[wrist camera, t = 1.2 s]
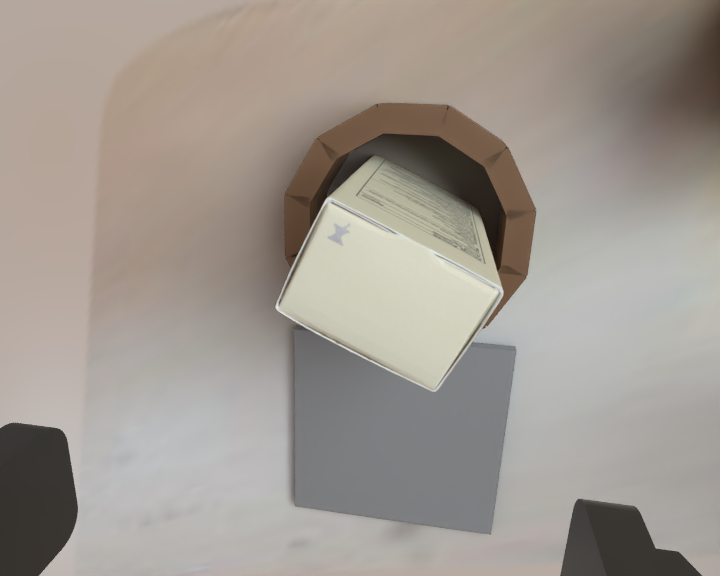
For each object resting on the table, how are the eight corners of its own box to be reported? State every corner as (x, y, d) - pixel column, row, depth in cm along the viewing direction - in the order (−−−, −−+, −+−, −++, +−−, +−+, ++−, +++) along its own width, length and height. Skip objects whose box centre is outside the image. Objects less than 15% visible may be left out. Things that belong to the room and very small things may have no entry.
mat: (515, 346, 30) (516, 351, 30) (490, 527, 34) (490, 534, 33) (297, 325, 32) (294, 329, 31) (297, 499, 36) (294, 506, 35)
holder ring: (538, 108, 26) (550, 110, 23) (509, 330, 30) (515, 359, 27) (304, 99, 28) (283, 100, 24) (303, 311, 31) (285, 336, 28)
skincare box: (336, 225, 30) (260, 307, 18) (374, 150, 28) (316, 188, 17) (444, 283, 30) (436, 402, 18) (488, 211, 28) (508, 292, 17)
